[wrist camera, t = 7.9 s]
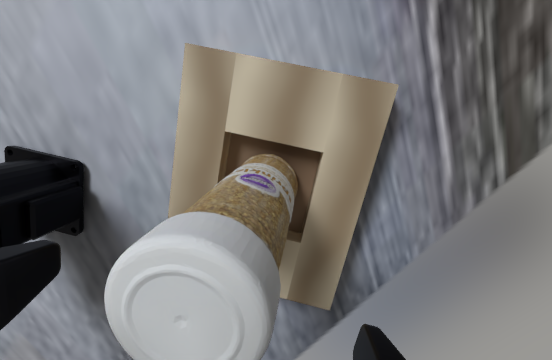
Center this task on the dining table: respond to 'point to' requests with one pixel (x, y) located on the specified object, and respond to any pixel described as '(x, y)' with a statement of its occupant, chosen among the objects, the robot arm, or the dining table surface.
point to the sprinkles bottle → (208, 272)
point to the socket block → (283, 150)
